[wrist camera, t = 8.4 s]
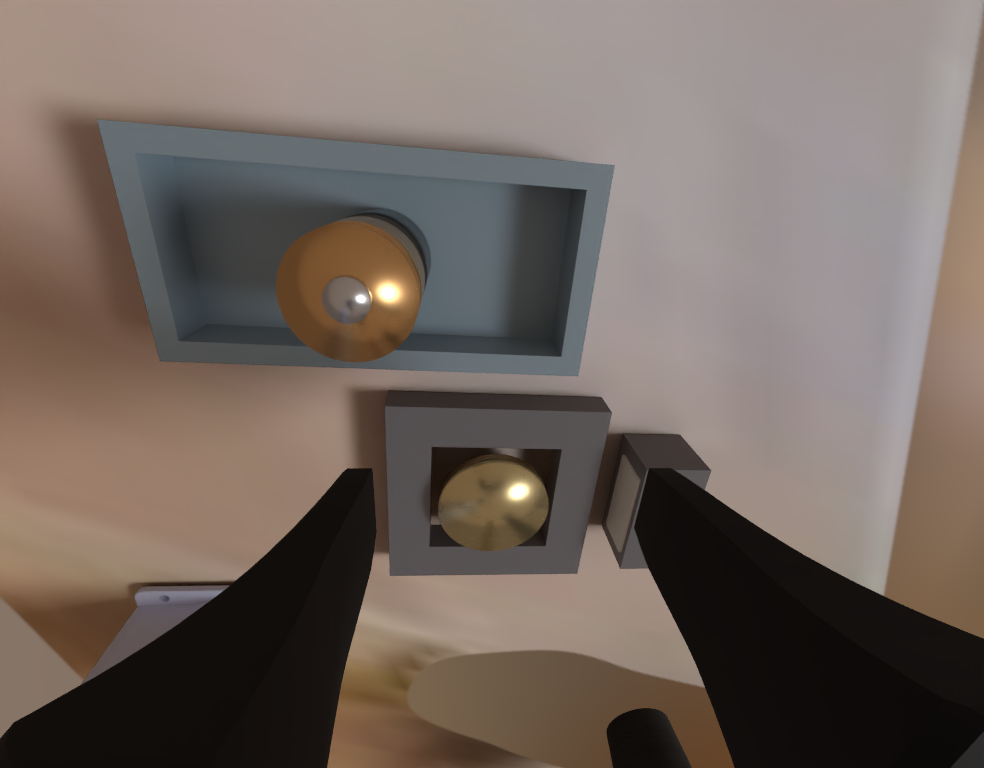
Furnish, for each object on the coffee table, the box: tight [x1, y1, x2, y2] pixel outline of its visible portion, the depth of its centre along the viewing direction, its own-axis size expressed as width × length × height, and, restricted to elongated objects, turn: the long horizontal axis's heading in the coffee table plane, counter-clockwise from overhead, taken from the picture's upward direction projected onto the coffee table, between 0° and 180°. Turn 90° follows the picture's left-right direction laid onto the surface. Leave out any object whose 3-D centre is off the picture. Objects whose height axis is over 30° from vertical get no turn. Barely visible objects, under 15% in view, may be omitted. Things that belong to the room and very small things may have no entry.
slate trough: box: [97, 119, 615, 376], centre depth 16 cm, size 16×8×3 cm, turn 86°
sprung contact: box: [438, 454, 549, 551], centre depth 21 cm, size 5×5×1 cm
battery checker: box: [385, 391, 711, 576], centre depth 22 cm, size 14×10×3 cm
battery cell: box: [276, 208, 431, 362], centre depth 14 cm, size 4×4×6 cm
